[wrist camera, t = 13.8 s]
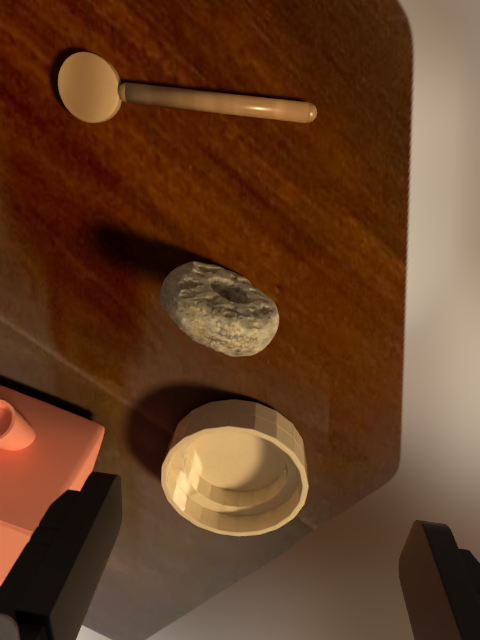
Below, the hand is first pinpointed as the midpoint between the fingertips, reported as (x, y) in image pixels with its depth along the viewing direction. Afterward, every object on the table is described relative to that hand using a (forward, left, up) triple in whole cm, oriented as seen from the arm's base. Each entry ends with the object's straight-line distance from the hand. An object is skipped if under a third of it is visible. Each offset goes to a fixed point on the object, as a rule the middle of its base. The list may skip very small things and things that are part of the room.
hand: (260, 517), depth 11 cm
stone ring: (+4, +4, -29) cm, 29 cm away
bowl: (+1, +24, -28) cm, 37 cm away
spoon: (+8, -11, -28) cm, 31 cm away
